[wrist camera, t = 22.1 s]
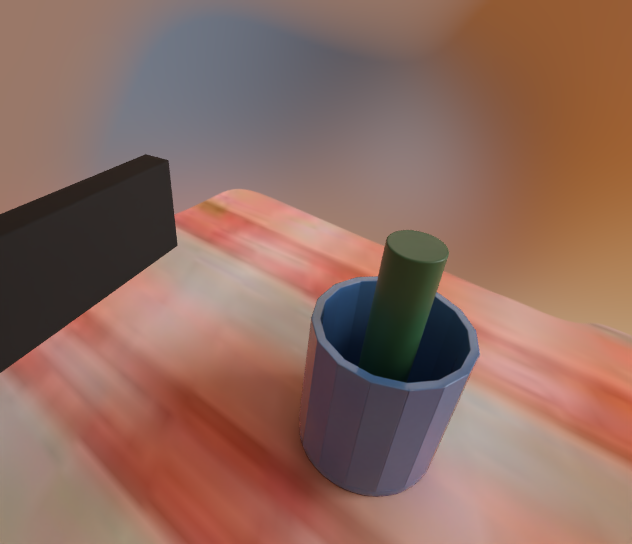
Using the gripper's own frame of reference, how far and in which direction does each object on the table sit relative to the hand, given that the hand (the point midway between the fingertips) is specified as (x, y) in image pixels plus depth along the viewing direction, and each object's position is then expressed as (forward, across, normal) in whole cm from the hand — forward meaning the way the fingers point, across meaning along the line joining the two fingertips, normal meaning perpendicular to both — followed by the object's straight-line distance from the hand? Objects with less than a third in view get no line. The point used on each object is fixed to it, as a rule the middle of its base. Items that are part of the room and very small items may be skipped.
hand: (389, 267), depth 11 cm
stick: (+9, 0, -18) cm, 20 cm away
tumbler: (+9, 0, -19) cm, 21 cm away
